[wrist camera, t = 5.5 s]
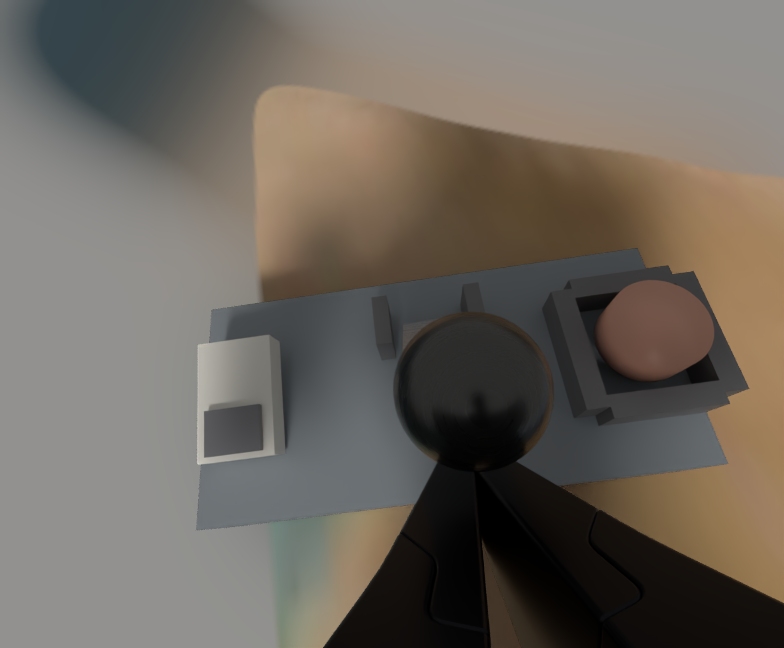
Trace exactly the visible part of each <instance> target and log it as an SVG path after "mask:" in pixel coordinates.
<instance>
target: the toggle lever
mask: <svg viewBox="0 0 784 648" xmlns="http://www.w3.org/2000/svg"><path fill="white" fill-rule="evenodd" d="M393 398H394V405H395V409H396V413H397V416H398V419H399V422H400V424H401V426H402V428H403V430H404V431H405V433H406V434H407V436H408V437H409V439H410V440H411V441H412V442H413V443H414V445H415V446H416V447H417V448H418V449H419V450H420V451H421V452H423V453H424V454H425V455H426V456H428V457H429V458H431V459H432V460H434V461H435V462H437V463H440V464H442V465H444V466H446V467H449V468H452V469H455V470H460V471H465V472H487V471H492V470H497V469H500V468H503V467H506V466H508V465H510V464H512V463H514V462H516V461H517V460H519V459H520V458H522V457H523V456H525V455H526V454H527V453H528V452H529V451H531V450H532V448H533V447H534V446H535V445H536V444H537V443H538V442H539V440H540V439H541V437H542V436H543V434H544V432H545V431H546V429H547V427H548V424H549V422H550V419H551V416H552V411H553V407H554V382H553V377H552V373H551V370H550V367H549V364H548V362H547V360H546V357H545V355H544V354H543V352H542V351H541V349H540V348H539V346H538V345H537V343H536V342H535V341H534V340H533V339H532V338H531V336H530V335H529V334H527V333H526V332H525V331H524V330H523V329H522V328H520V327H518V326H517V325H515V324H514V323H512V322H510V321H508V320H506V319H504V318H502V317H499V316H496V315H493V314H489V313H484V312H460V313H455V314H450V315H447V316H444V317H441V318H439V319H434V320H427V321H420V322H412V323H405V324H403V348H402V354H401V356H400V358H399V360H398V363H397V366H396V369H395V374H394V379H393Z"/></svg>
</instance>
